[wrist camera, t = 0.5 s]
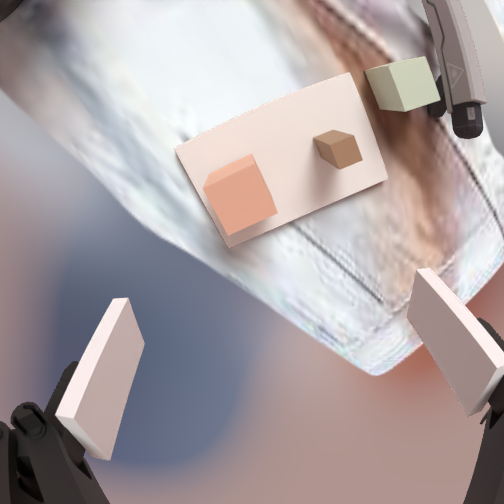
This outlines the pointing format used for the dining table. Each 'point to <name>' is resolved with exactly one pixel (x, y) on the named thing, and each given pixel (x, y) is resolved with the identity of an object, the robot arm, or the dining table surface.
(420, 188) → the dining table surface
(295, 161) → the stand
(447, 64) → the grey curved bar
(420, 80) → the pale green block
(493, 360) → the robot arm
